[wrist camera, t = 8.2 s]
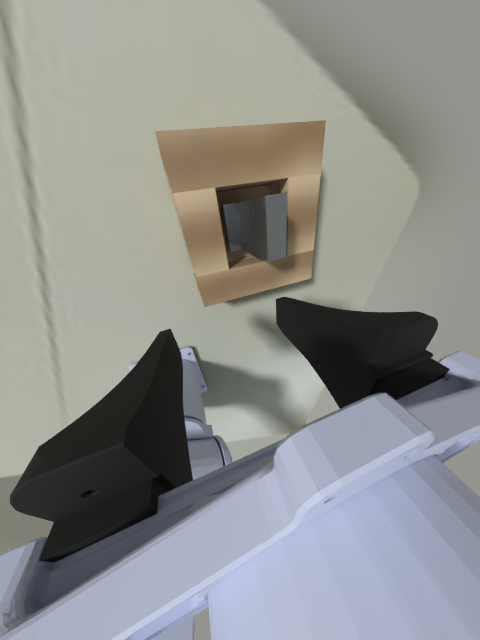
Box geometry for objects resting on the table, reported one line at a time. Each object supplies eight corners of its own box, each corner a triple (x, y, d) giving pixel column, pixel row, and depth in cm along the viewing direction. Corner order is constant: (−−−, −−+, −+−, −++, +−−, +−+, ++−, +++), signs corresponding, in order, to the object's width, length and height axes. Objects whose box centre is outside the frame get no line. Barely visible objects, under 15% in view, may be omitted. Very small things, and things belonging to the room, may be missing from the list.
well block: (291, 269, 22) (311, 278, 19) (199, 292, 20) (204, 307, 17) (294, 140, 16) (325, 120, 13) (159, 152, 14) (155, 131, 10)
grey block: (262, 243, 19) (300, 253, 13) (227, 250, 18) (252, 265, 13) (260, 199, 17) (304, 189, 11) (220, 205, 16) (246, 198, 10)
